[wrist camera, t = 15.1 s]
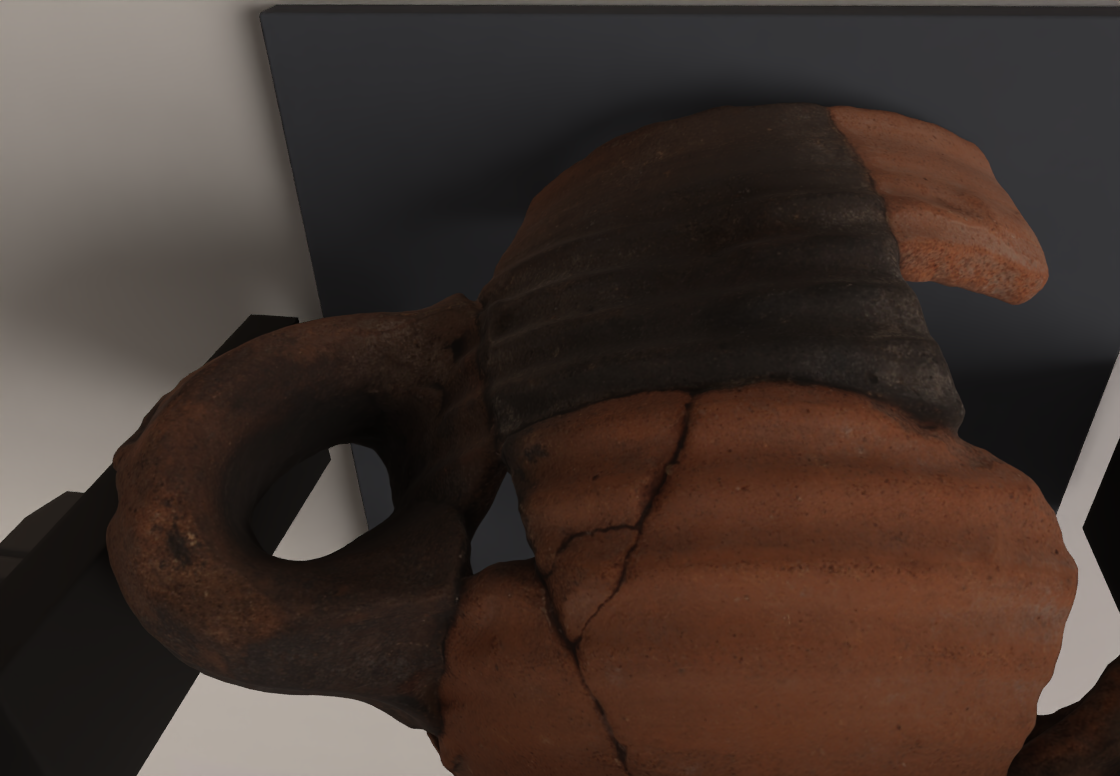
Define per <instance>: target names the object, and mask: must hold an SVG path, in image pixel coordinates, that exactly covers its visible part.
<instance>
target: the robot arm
mask: <svg viewBox="0 0 1120 776" xmlns="http://www.w3.org/2000/svg"><path fill="white" fill-rule="evenodd" d="M294 324H299V320H298V317H284V316H268V315H252V314H251V315H250V316H249V317H248V318H247V319H246V320H245V321H244V322H243V323H242V325H241V326H240V327H239V328H238V329H237V330H236V331H235V332H234V333H233V334H232V335H231V336H230V337H229V338H228V340H227V341H226V342H225V343H224V344H223V345H222V346H221V347H220V348H219V349H218V350H217V351H216V352H215V354H214V355H213V356H212V357H211V358H210V359H209V360H208V361H207V362H206V363H208V362H210V361H211V360H213V359H215V358H217V357H219V356H221V355H222V354H224V353H226V352H228V351H230V350H232V349H234V348H236V347H238V346H240V345H242V344H244V343H246V342H248V341H250V340H252V339H254V338H256V337H259V336H261V335H264V334H267V333H270V332H273V331H276V330H278V329H281V328H284V327H287V326H290V325H294ZM206 363H205V364H206ZM205 364H204V365H205ZM204 365H203V366H204ZM330 460H331V458H330V453H329V449H326V450H322V451H320V452H318V453H317V454H315V455H314V456H312V457H310V458H308V459H306V460H304V461H303V462H301V463H299V464H297V465H296V466H294V467H293V468H292V469H290V470H289V472H288V473H286V474H284V475H283V476H281V477H280V478H279V479H278V480H277V481H276V482H275V483H274V485H273V486H272V487H271V488H270V489H269V490H268V491H267V493H266V494H265V495H264V496H263V497H262V499H261V500H260V501H259V502H258V504H257V505H256V507H255V509H254V511H253V514H252V526H251V528H252V530H253V532H254V534H255V535H256V537H257V540H258V542H259V543H260V545H261V546H262V548H263V549H264V551H265V552H266V553H268V554H270V555H273V553H274V551H275V550H276V548H277V547H278V545H279V543H280V542H281V540H282V538H283V537H284V535H285V534H286V532H287V530H288V529H289V527H290V525H291V524H292V522H293V521H294V519H295V517H296V516H297V514H298V512H299V511H300V509H301V508H302V506H303V504H304V503H305V501H306V499H307V498H308V496H309V494H310V493H311V491H312V490H313V488H314V486H315V485H316V483H317V481H318V480H319V478H320V477H321V475H322V473H323V472H324V470H325V468H326V467H327V465H328V464H329V462H330ZM116 473H117V471H116V470H115V469H114V468H113V463H112V464H111V465H110V466H109V467H108V468H107V469H106V471H105V472H104V473H103V474H102V475H101V476H100V477H99V478H98V479H97V480H96V481H95V482H94V483H93V485H92V486H91V487H90V488H89V489H88V490H87V491H86V492H85V493H80V492H70V491H66V492H65V493H63V494H62V495H60V496H59V497H57V498H55V499H54V500H52V501H51V502H49V503H47V504H46V505H44V506H43V507H41V508H39V509H38V510H36V511H35V512H33V513H32V514H30V515H28V516H27V517H25V518H24V519H23V520H22V521H21V523H20V524H19V525H18V526H17V527H16V528H15V529H14V530H13V531H12V532H11V533H10V534H9V535H8V536H7V537H6V538H5V539H4V540H3V541H2V542H1V543H0V776H137V774H138V772H139V771H140V769H141V768H142V766H143V764H144V763H145V761H146V759H147V758H148V756H149V755H150V753H151V751H152V750H153V748H154V746H155V745H156V743H157V742H158V740H159V738H160V737H161V735H162V733H163V732H164V730H165V729H166V727H167V725H168V724H169V722H170V720H171V719H172V717H173V716H174V714H175V712H176V711H177V709H178V707H179V706H180V704H181V703H182V701H183V699H184V698H185V696H186V694H187V693H188V691H189V690H190V688H191V686H192V685H193V683H194V681H195V680H196V678H197V677H198V675H199V673H200V672H199V671H198V670H196V669H194V668H192V667H190V666H188V665H186V664H185V663H183V662H182V661H180V660H179V659H178V658H176V657H175V656H174V655H173V654H172V653H171V652H170V651H169V650H168V649H167V648H166V647H164V646H163V645H162V644H161V643H160V642H159V641H158V640H157V639H155V638H154V637H153V636H152V635H150V634H149V633H148V632H147V631H146V630H145V629H144V627H143V626H142V624H141V623H140V621H139V620H138V618H137V617H136V616H135V614H134V613H133V612H132V610H131V609H130V607H129V605H128V604H127V602H126V600H125V598H124V596H123V594H122V592H121V590H120V587H119V584H118V582H117V580H116V577H115V575H114V573H113V570H112V568H111V565H110V561H109V555H108V551H107V544H106V532H107V527H108V525H109V523H110V521H111V519H112V518H113V516H114V514H115V513H116V511H117V508H118V503H119V501H118V491H117V488H116ZM1083 531H1084V533H1085V535H1086V538H1087V540H1088V542H1089V544H1090V547H1091V549H1092V551H1093V553H1094V556H1095V558H1096V560H1097V563H1098V565H1099V567H1100V569H1101V572H1102V574H1103V576H1104V578H1105V581H1106V583H1107V585H1108V587H1109V590H1110V592H1111V594H1112V597H1113V599H1114V601H1115V603H1116V606H1117V608H1118V610H1119V612H1120V438H1119V441H1118V443H1117V445H1116V448H1115V450H1114V453H1113V455H1112V458H1111V460H1110V462H1109V465H1108V467H1107V470H1106V472H1105V475H1104V477H1103V479H1102V482H1101V484H1100V487H1099V489H1098V491H1097V494H1096V496H1095V499H1094V501H1093V504H1092V506H1091V508H1090V511H1089V513H1088V516H1087V518H1086V520H1085V523H1084V525H1083Z"/></svg>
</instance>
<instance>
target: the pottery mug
mask: <svg viewBox="0 0 1120 776" xmlns="http://www.w3.org/2000/svg"><path fill="white" fill-rule="evenodd" d="M1048 277H1049V274H1048V266H1047V263H1046V259H1045V256H1044V252H1043V250H1042V248H1041V246H1040V243H1039V241H1038V239H1037V237H1036V235H1035V234H1034V232H1033V230H1032V229H1031V228H1030V226H1029V225H1028V223H1027V222H1026V221H1025V220H1024V218H1023V216H1022V215H1021V213H1020V212H1019V210H1018V209H1017V207H1016V206H1015V204H1014V202H1013V201H1012V199H1011V198H1010V196H1009V195H1008V193H1007V192H1006V191H1005V190H1004V189H1003V188H1002V187H1001V186H1000V184H999V183H998V182H997V180H996V179H995V176H994V174H993V172H992V169H991V167H990V164H989V162H988V160H987V159H986V157H985V155H984V154H983V153H982V151H981V150H980V149H979V148H978V147H977V146H976V145H975V144H974V143H972V142H969V141H967V140H965V139H962V138H961V137H959V136H957V135H956V134H954V133H952V132H950V131H949V130H947V129H944V128H942V127H940V126H938V125H936V124H933V123H928V122H925V121H922V120H918V119H914V118H910V117H907V116H904V115H901V114H898V113H895V112H889V111H883V110H870V109H863V108H855V107H851V106H832V107H825V106H821V105H818V104H815V103H804V102H796V103H777V104H765V105H757V106H738V107H736V106H730V105H726V106H720V107H714V108H710V109H708V110H705V111H702V112H698V113H695V114H692V115H689V116H685V117H681V118H678V119H672V120H668V121H663V122H656V123H652V124H649V125H645V126H643V127H641V128H639V129H637V130H635V131H632V132H629V133H626V134H623V135H620V136H617V137H615V138H613V139H612V140H610V141H608V142H606V143H604V144H603V145H601V146H599V147H597V148H596V149H595V150H594V151H592V152H591V153H590V154H589V155H588V156H587V157H586V158H584V159H583V160H580V161H578V162H577V163H575V164H574V165H572V166H571V167H570V168H568V169H566V170H565V171H563V172H562V173H561V174H560V175H559V176H558V177H556V178H555V179H554V180H553V181H551V182H550V183H549V184H548V185H547V186H545V187H544V188H543V189H542V191H541V192H539V193H538V194H537V195H536V196H535V197H534V198H533V199H532V201H531V203H530V205H529V208H528V210H527V212H526V215H525V218H524V221H523V223H522V225H521V227H520V228H519V230H518V231H517V234H516V236H515V238H514V239H513V241H512V243H511V244H510V246H509V247H508V249H507V250H506V251H505V253H504V254H503V255H502V257H501V259H500V260H499V262H498V264H497V265H496V267H495V271H494V274H493V278H492V279H491V280H490V281H489V283H488V284H486V285H485V286H484V287H483V288H482V290H481V292H480V294H479V296H478V298H477V300H476V301H472V300H469V299H468V298H467V297H466V296H465V295H464V294H462V293H456V294H453V295H451V296H449V297H447V298H445V299H444V300H442V301H440V302H438V303H436V304H434V305H432V306H430V307H427V308H424V309H420V310H414V311H405V312H374V313H358V314H352V315H342V316H334V317H326V318H321V319H316V320H312V321H307V322H303V323H299V324H294V325H290V326H287V327H284V328H281V329H278V330H276V331H273V332H270V333H267V334H264V335H261V336H259V337H256V338H254V339H252V340H250V341H248V342H246V343H244V344H242V345H240V346H238V347H236V348H234V349H232V350H230V351H228V352H226V353H224V354H222V355H221V356H219V357H217V358H215V359H213V360H211V361H210V362H208V363H206V364H205V365H204V366H202V367H201V368H199V369H198V370H196V371H194V372H192V373H190V374H189V375H187V376H186V377H185V378H183V379H182V380H181V381H180V382H179V383H178V385H177V386H176V387H175V388H174V389H173V390H172V391H171V392H169V393H167V394H165V395H164V396H162V397H161V398H160V400H159V401H158V402H157V403H156V404H155V406H154V407H153V408H152V409H151V410H150V412H149V413H148V414H147V415H146V416H145V417H144V419H143V421H142V423H141V426H140V427H139V429H138V430H137V431H136V432H135V433H134V434H133V435H132V436H131V437H130V438H129V439H128V440H127V441H126V442H124V443H123V444H122V445H121V446H120V447H119V448H118V450H117V451H116V452H115V454H114V457H113V468H114V469H115V470H116V471H117V473H116V488H117V491H118V501H119V503H118V508H117V511H116V513H115V514H114V516H113V518H112V519H111V521H110V523H109V525H108V527H107V532H106V544H107V551H108V555H109V561H110V565H111V568H112V570H113V573H114V575H115V577H116V580H117V582H118V584H119V587H120V590H121V592H122V594H123V596H124V598H125V600H126V602H127V604H128V605H129V607H130V609H131V610H132V612H133V613H134V614H135V616H136V617H137V618H138V620H139V621H140V623H141V624H142V626H143V627H144V629H145V630H146V631H147V632H148V633H149V634H150V635H152V636H153V637H154V638H155V639H157V640H158V641H159V642H160V643H161V644H162V645H163V646H164V647H166V648H167V649H168V650H169V651H170V652H171V653H172V654H173V655H174V656H175V657H176V658H178V659H179V660H180V661H182V662H183V663H185V664H186V665H188V666H190V667H192V668H194V669H196V670H198V671H199V672H201V673H203V674H205V675H207V676H210V677H213V678H215V679H218V680H221V681H223V682H227V683H230V684H234V685H238V686H241V687H245V688H248V689H252V690H257V691H262V692H268V693H278V694H287V695H322V696H335V697H343V698H350V699H355V700H359V701H362V702H365V703H368V704H370V705H373V706H374V707H376V708H378V709H380V710H382V711H384V712H385V713H387V714H389V715H390V716H392V717H393V718H395V719H396V720H398V721H399V722H401V723H403V724H404V725H406V726H408V727H410V728H413V729H424V730H425V731H427V735H428V737H429V738H430V740H431V742H432V744H433V746H434V747H435V749H436V750H437V752H438V753H439V755H440V758H441V762H442V764H443V766H444V767H445V768H446V769H447V770H449V771H450V772H451V773H452V774H453V775H454V776H1120V655H1119V656H1118V657H1117V658H1116V659H1115V660H1113V661H1112V662H1111V663H1110V664H1108V665H1107V667H1106V668H1105V670H1104V672H1103V673H1102V675H1101V676H1100V678H1099V680H1098V681H1097V683H1096V685H1095V686H1094V687H1093V688H1092V689H1091V690H1090V691H1089V692H1088V693H1087V694H1086V695H1085V696H1084V697H1083V698H1082V699H1081V700H1080V701H1078V702H1076V703H1074V704H1071V705H1069V706H1067V707H1064V708H1061V709H1059V710H1058V711H1056V712H1055V713H1053V714H1049V715H1037V702H1038V699H1039V696H1040V694H1041V692H1042V689H1043V688H1044V687H1045V686H1046V685H1047V683H1048V682H1049V681H1050V680H1051V678H1052V676H1053V673H1054V668H1055V664H1056V662H1057V659H1058V656H1059V653H1060V650H1061V646H1062V638H1063V632H1064V627H1065V623H1066V621H1067V618H1068V616H1069V613H1070V611H1071V608H1072V605H1073V602H1074V599H1075V595H1076V590H1077V585H1078V568H1077V565H1076V563H1075V561H1074V559H1073V558H1072V556H1071V555H1070V554H1069V552H1068V551H1067V549H1066V547H1065V545H1064V542H1063V538H1062V532H1061V530H1060V527H1059V524H1058V521H1057V518H1056V515H1055V512H1054V510H1053V509H1052V508H1051V507H1050V505H1049V504H1048V503H1047V501H1046V500H1045V498H1044V496H1043V494H1042V492H1041V490H1040V488H1039V487H1038V486H1037V485H1036V483H1035V482H1034V481H1033V480H1032V479H1031V478H1030V477H1028V476H1027V475H1026V474H1024V473H1023V472H1022V471H1020V470H1018V469H1016V468H1015V467H1013V466H1011V465H1009V464H1007V463H1006V462H1004V461H1002V460H1000V459H999V458H997V457H995V456H994V455H992V454H991V453H990V452H988V451H987V450H985V449H982V448H979V447H976V446H973V445H971V444H969V443H967V442H965V441H964V440H962V439H960V437H959V436H958V433H957V432H958V428H959V427H960V425H961V423H962V422H963V419H964V415H965V409H964V406H963V404H962V401H961V399H960V397H959V394H958V392H957V390H956V388H955V385H954V381H953V379H952V376H951V373H950V370H949V367H948V364H947V362H946V360H945V358H944V356H943V354H942V351H941V349H940V346H939V345H938V343H937V342H936V341H935V340H934V339H933V338H932V336H931V335H930V333H929V330H928V327H927V325H926V322H925V319H924V315H923V312H922V308H921V305H920V302H919V300H918V298H917V296H916V294H915V292H914V291H913V290H912V288H911V287H910V286H909V285H908V284H907V283H906V281H910V282H927V281H932V282H936V283H939V284H942V285H945V286H949V287H959V288H963V289H966V290H968V291H972V292H975V293H980V294H984V295H986V296H989V297H992V298H996V299H998V300H1001V301H1003V302H1006V303H1009V304H1011V305H1019V304H1022V303H1025V302H1026V301H1028V300H1030V299H1031V298H1032V297H1033V296H1035V295H1036V294H1037V293H1038V292H1039V291H1040V290H1041V289H1042V288H1043V287H1044V285H1045V284H1046V282H1047V280H1048ZM348 443H353V444H357V445H361V446H364V447H367V448H370V449H373V450H374V451H375V452H376V453H377V454H378V456H379V457H380V458H381V460H382V462H383V464H384V465H385V467H386V469H387V472H388V476H389V484H390V488H391V495H392V503H393V506H394V511H393V513H392V514H391V515H390V516H389V517H388V518H387V519H386V520H384V521H383V522H382V523H380V524H379V525H377V526H376V527H374V528H373V529H371V530H370V531H368V532H366V533H364V534H363V535H361V536H359V537H358V538H356V539H355V540H353V541H352V542H351V543H349V544H347V545H346V546H344V547H343V548H341V549H339V550H337V551H335V552H334V553H332V554H329V555H327V556H324V557H321V558H317V559H312V560H307V561H292V560H286V559H281V558H277V557H275V556H272V555H270V554H268V553H266V552H265V551H264V549H263V548H262V546H261V545H260V543H259V542H258V540H257V537H256V535H255V534H254V532H253V530H252V528H251V526H252V514H253V511H254V509H255V507H256V505H257V504H258V502H259V501H260V500H261V499H262V497H263V496H264V495H265V494H266V493H267V491H268V490H269V489H270V488H271V487H272V486H273V485H274V483H275V482H276V481H277V480H278V479H279V478H280V477H281V476H283V475H284V474H286V473H288V472H289V470H290V469H292V468H293V467H294V466H296V465H297V464H299V463H301V462H303V461H304V460H306V459H308V458H310V457H312V456H314V455H315V454H317V453H318V452H320V451H322V450H326V449H328V448H331V447H333V446H335V445H338V444H348ZM507 472H508V473H509V474H510V475H511V478H512V482H513V485H514V487H515V490H516V495H517V498H518V511H519V513H520V516H521V520H522V523H523V526H524V528H525V532H526V540H527V542H528V544H529V546H530V548H531V550H532V551H533V553H534V555H535V557H533V558H529V559H526V560H512V561H507V562H497V563H495V564H492V565H490V566H487V567H486V568H484V569H483V570H481V571H480V572H478V573H476V574H473V570H472V567H471V562H470V558H471V541H472V539H473V537H474V534H475V532H476V530H477V528H478V527H479V525H480V523H481V522H482V521H483V519H484V518H485V516H486V514H487V513H488V511H489V509H490V508H491V506H492V504H493V502H494V500H495V497H496V495H497V492H498V490H499V488H500V486H501V484H502V482H503V480H504V478H505V476H506V474H507Z"/></svg>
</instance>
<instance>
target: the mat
mask: <svg viewBox="0 0 1120 776" xmlns="http://www.w3.org/2000/svg"><path fill="white" fill-rule="evenodd" d="M259 17H260V22H261V27H262V31H263V36H264V41H265V45H266V50H267V55H268V60H269V64H270V69H271V74H272V78H273V83H274V88H275V92H276V97H277V102H278V106H279V111H280V116H281V121H282V125H283V130H284V135H285V139H286V144H287V149H288V153H289V158H290V163H291V167H292V172H293V177H294V182H295V186H296V191H297V196H298V200H299V205H300V210H301V214H302V219H303V224H304V228H305V233H306V238H307V243H308V247H309V252H310V257H311V261H312V266H313V271H314V275H315V280H316V285H317V289H318V294H319V299H320V304H321V308H322V313H323V318H326V317H334V316H342V315H352V314H358V313H374V312H405V311H414V310H420V309H424V308H427V307H430V306H432V305H434V304H436V303H438V302H440V301H442V300H444V299H445V298H447V297H449V296H451V295H453V294H456V293H462V294H464V295H465V296H466V297H467V298H468V299H469V300H472V301H476V300H477V298H478V296H479V294H480V292H481V290H482V288H483V287H484V286H485V285H486V284H488V283H489V281H490V280H491V279H492V278H493V274H494V271H495V267H496V265H497V264H498V262H499V260H500V259H501V257H502V255H503V254H504V253H505V251H506V250H507V249H508V247H509V246H510V244H511V243H512V241H513V239H514V238H515V236H516V234H517V231H518V230H519V228H520V227H521V225H522V223H523V221H524V218H525V215H526V212H527V210H528V208H529V205H530V203H531V201H532V199H533V198H534V197H535V196H536V195H537V194H538V193H539V192H541V191H542V189H543V188H544V187H545V186H547V185H548V184H549V183H550V182H551V181H553V180H554V179H555V178H556V177H558V176H559V175H560V174H561V173H562V172H563V171H565V170H566V169H568V168H570V167H571V166H572V165H574V164H575V163H577V162H578V161H580V160H583V159H584V158H586V157H587V156H588V155H589V154H590V153H591V152H592V151H594V150H595V149H596V148H597V147H599V146H601V145H603V144H604V143H606V142H608V141H610V140H612V139H613V138H615V137H617V136H620V135H623V134H626V133H629V132H632V131H635V130H637V129H639V128H641V127H643V126H645V125H649V124H652V123H656V122H663V121H668V120H672V119H678V118H681V117H685V116H689V115H692V114H695V113H698V112H702V111H705V110H708V109H710V108H714V107H720V106H726V105H730V106H736V107H738V106H757V105H765V104H777V103H796V102H804V103H815V104H818V105H821V106H825V107H832V106H851V107H855V108H863V109H870V110H883V111H889V112H895V113H898V114H901V115H904V116H907V117H910V118H914V119H918V120H922V121H925V122H928V123H933V124H936V125H938V126H940V127H942V128H944V129H947V130H949V131H950V132H952V133H954V134H956V135H957V136H959V137H961V138H962V139H965V140H967V141H969V142H972V143H974V144H975V145H976V146H977V147H978V148H979V149H980V150H981V151H982V153H983V154H984V155H985V157H986V159H987V160H988V162H989V164H990V167H991V169H992V172H993V174H994V176H995V179H996V180H997V182H998V183H999V184H1000V186H1001V187H1002V188H1003V189H1004V190H1005V191H1006V192H1007V193H1008V195H1009V196H1010V198H1011V199H1012V201H1013V202H1014V204H1015V206H1016V207H1017V209H1018V210H1019V212H1020V213H1021V215H1022V216H1023V218H1024V220H1025V221H1026V222H1027V223H1028V225H1029V226H1030V228H1031V229H1032V230H1033V232H1034V234H1035V235H1036V237H1037V239H1038V241H1039V243H1040V246H1041V248H1042V250H1043V252H1044V256H1045V259H1046V263H1047V266H1048V274H1049V277H1048V280H1047V282H1046V284H1045V285H1044V287H1043V288H1042V289H1041V290H1040V291H1039V292H1038V293H1037V294H1036V295H1035V296H1033V297H1032V298H1031V299H1030V300H1028V301H1026V302H1025V303H1022V304H1019V305H1011V304H1009V303H1006V302H1003V301H1001V300H998V299H996V298H992V297H989V296H986V295H984V294H980V293H975V292H972V291H968V290H966V289H963V288H959V287H949V286H945V285H942V284H939V283H936V282H932V281H927V282H910V281H906V283H907V284H908V285H909V286H910V287H911V288H912V290H913V291H914V292H915V294H916V296H917V298H918V300H919V302H920V305H921V308H922V312H923V315H924V319H925V322H926V325H927V327H928V330H929V333H930V335H931V336H932V338H933V339H934V340H935V341H936V342H937V343H938V345H939V346H940V349H941V351H942V354H943V356H944V358H945V360H946V362H947V364H948V367H949V370H950V373H951V376H952V379H953V381H954V385H955V388H956V390H957V392H958V394H959V397H960V399H961V401H962V404H963V406H964V409H965V415H964V419H963V422H962V423H961V425H960V427H959V428H958V432H957V433H958V436H959V437H960V439H962V440H964V441H965V442H967V443H969V444H971V445H973V446H976V447H979V448H982V449H985V450H987V451H988V452H990V453H991V454H992V455H994V456H995V457H997V458H999V459H1000V460H1002V461H1004V462H1006V463H1007V464H1009V465H1011V466H1013V467H1015V468H1016V469H1018V470H1020V471H1022V472H1023V473H1024V474H1026V475H1027V476H1028V477H1030V478H1031V479H1032V480H1033V481H1034V482H1035V483H1036V485H1037V486H1038V487H1039V488H1040V490H1041V492H1042V494H1043V496H1044V498H1045V500H1046V501H1047V503H1048V504H1049V505H1050V507H1051V508H1052V509H1053V510H1054V512H1055V515H1056V514H1057V511H1058V509H1059V506H1060V504H1061V501H1062V498H1063V496H1064V493H1065V491H1066V488H1067V485H1068V483H1069V480H1070V478H1071V475H1072V473H1073V470H1074V467H1075V465H1076V462H1077V460H1078V457H1079V455H1080V452H1081V449H1082V447H1083V444H1084V442H1085V439H1086V436H1087V434H1088V431H1089V429H1090V426H1091V424H1092V421H1093V418H1094V416H1095V413H1096V411H1097V408H1098V406H1099V403H1100V400H1101V398H1102V395H1103V393H1104V390H1105V387H1106V385H1107V382H1108V380H1109V377H1110V375H1111V372H1112V369H1113V367H1114V364H1115V362H1116V359H1117V356H1118V354H1119V351H1120V7H983V6H542V5H275V6H273V7H271V8H269V9H267V10H265V11H263V12H261V13H260V15H259ZM350 444H351V449H352V454H353V458H354V463H355V468H356V473H357V477H358V482H359V487H360V491H361V496H362V501H363V505H364V510H365V515H366V519H367V524H368V529H369V531H370V530H371V529H373V528H374V527H376V526H377V525H379V524H380V523H382V522H383V521H384V520H386V519H387V518H388V517H389V516H390V515H391V514H392V513H393V511H394V506H393V503H392V495H391V488H390V484H389V476H388V472H387V469H386V467H385V465H384V464H383V462H382V460H381V458H380V457H379V456H378V454H377V453H376V452H375V451H374V450H373V449H370V448H367V447H364V446H361V445H357V444H353V443H350ZM533 557H535V555H534V553H533V551H532V550H531V548H530V546H529V544H528V542H527V540H526V532H525V528H524V526H523V523H522V520H521V516H520V513H519V511H518V498H517V495H516V490H515V487H514V485H513V482H512V478H511V475H510V474H509V473H508V472H507V474H506V476H505V478H504V480H503V482H502V484H501V486H500V488H499V490H498V492H497V495H496V497H495V500H494V502H493V504H492V506H491V508H490V509H489V511H488V513H487V514H486V516H485V518H484V519H483V521H482V522H481V523H480V525H479V527H478V528H477V530H476V532H475V534H474V537H473V539H472V541H471V558H470V562H471V567H472V570H473V574H476V573H478V572H480V571H481V570H483V569H484V568H486V567H487V566H490V565H492V564H495V563H497V562H507V561H512V560H526V559H529V558H533Z"/></svg>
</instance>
